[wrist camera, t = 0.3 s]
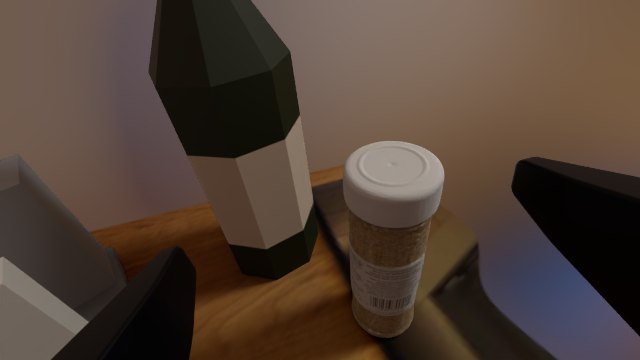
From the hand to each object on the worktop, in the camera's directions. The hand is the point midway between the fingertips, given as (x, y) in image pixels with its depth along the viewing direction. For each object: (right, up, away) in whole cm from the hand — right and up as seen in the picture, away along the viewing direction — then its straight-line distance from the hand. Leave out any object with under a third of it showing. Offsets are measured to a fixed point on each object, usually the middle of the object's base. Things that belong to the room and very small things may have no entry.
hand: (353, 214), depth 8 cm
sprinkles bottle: (+4, -9, +14) cm, 17 cm away
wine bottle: (-5, -5, +20) cm, 21 cm away
